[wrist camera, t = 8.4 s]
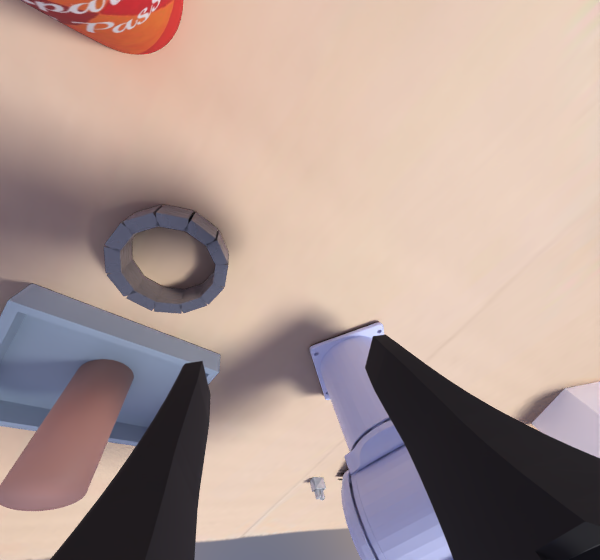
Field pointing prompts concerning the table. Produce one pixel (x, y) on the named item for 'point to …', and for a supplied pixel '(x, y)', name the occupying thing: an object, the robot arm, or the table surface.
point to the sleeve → (148, 291)
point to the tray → (84, 359)
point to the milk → (574, 418)
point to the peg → (69, 440)
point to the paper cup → (118, 21)
